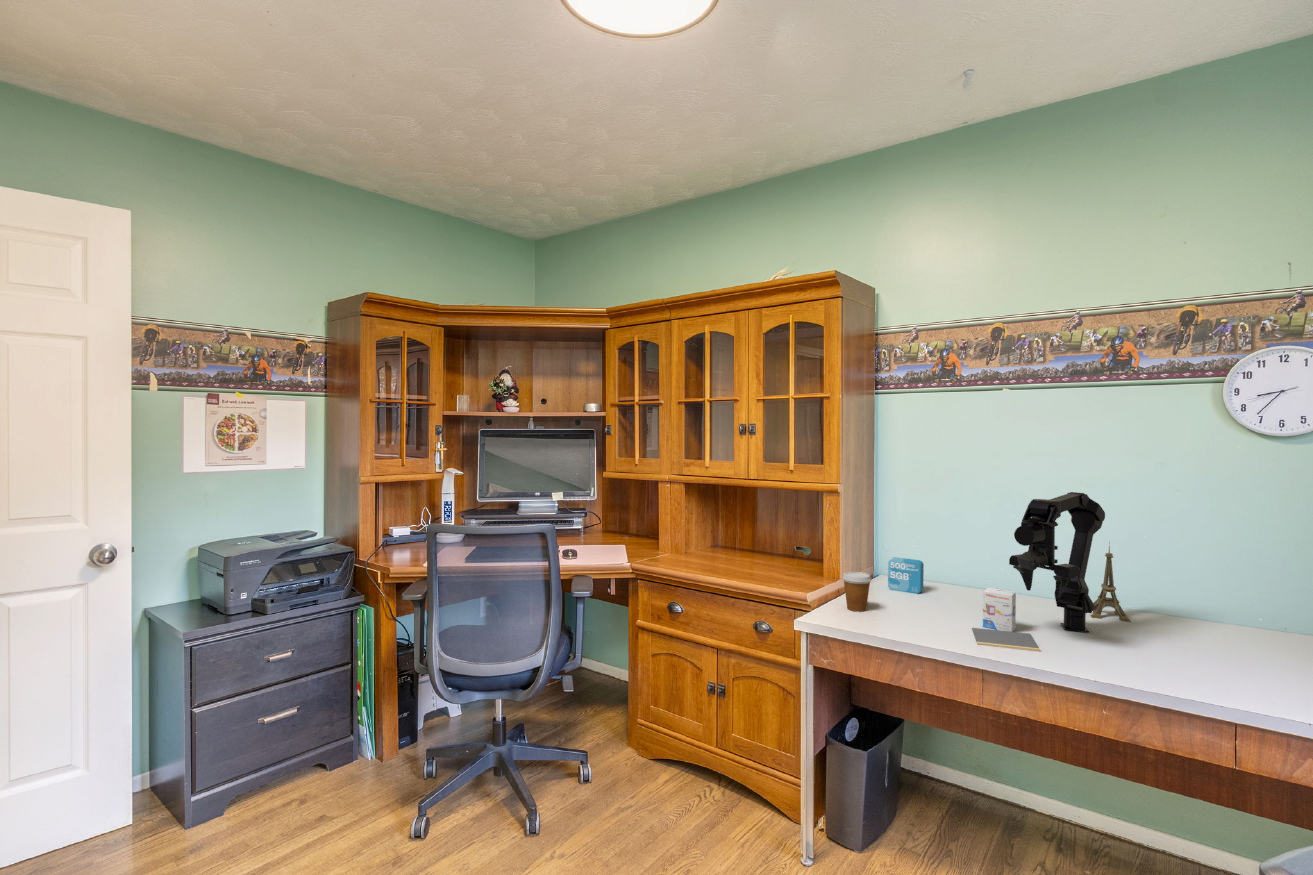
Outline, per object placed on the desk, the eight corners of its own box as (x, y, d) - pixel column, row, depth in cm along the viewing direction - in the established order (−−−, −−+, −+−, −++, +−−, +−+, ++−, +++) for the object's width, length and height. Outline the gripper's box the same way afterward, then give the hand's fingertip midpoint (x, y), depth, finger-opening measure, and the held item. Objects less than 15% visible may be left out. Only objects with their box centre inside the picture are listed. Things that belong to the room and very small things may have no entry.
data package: (887, 589, 248) (888, 558, 248) (891, 587, 252) (891, 556, 251) (920, 594, 241) (920, 562, 241) (923, 591, 245) (923, 560, 244)
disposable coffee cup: (851, 614, 216) (851, 578, 216) (837, 606, 226) (837, 572, 225) (876, 612, 219) (877, 577, 218) (861, 604, 228) (861, 570, 228)
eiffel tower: (1086, 609, 222) (1087, 537, 221) (1123, 613, 217) (1125, 539, 216) (1091, 617, 212) (1093, 542, 212) (1130, 622, 208) (1132, 545, 207)
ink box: (981, 627, 202) (982, 589, 202) (986, 623, 206) (986, 586, 206) (1011, 633, 197) (1012, 594, 197) (1015, 629, 201) (1016, 591, 200)
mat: (971, 628, 201) (971, 627, 201) (1030, 634, 195) (1030, 633, 195) (977, 644, 187) (977, 642, 187) (1040, 651, 181) (1040, 649, 181)
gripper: (996, 538, 197) (996, 589, 197) (1055, 550, 179) (1054, 605, 180) (1021, 536, 201) (1021, 585, 201) (1081, 546, 184) (1081, 600, 184)
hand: (1043, 594), depth 192 cm, fingers open, 9 cm apart
